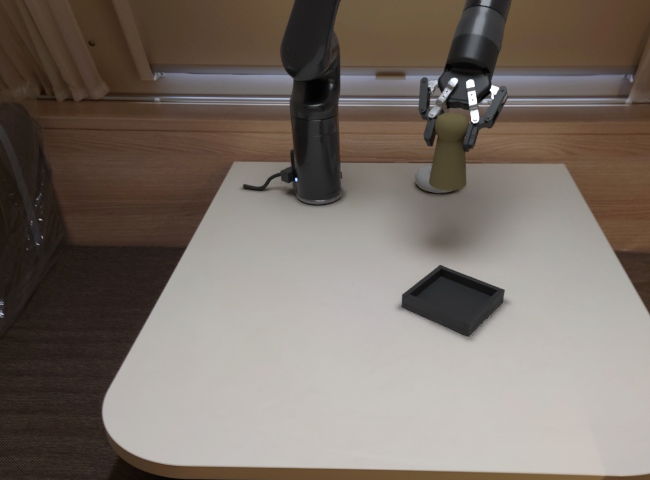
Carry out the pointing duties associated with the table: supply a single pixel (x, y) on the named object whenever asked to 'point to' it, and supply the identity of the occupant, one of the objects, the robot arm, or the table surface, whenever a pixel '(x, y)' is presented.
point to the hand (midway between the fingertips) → (447, 146)
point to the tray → (453, 299)
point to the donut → (426, 180)
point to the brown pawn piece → (449, 153)
